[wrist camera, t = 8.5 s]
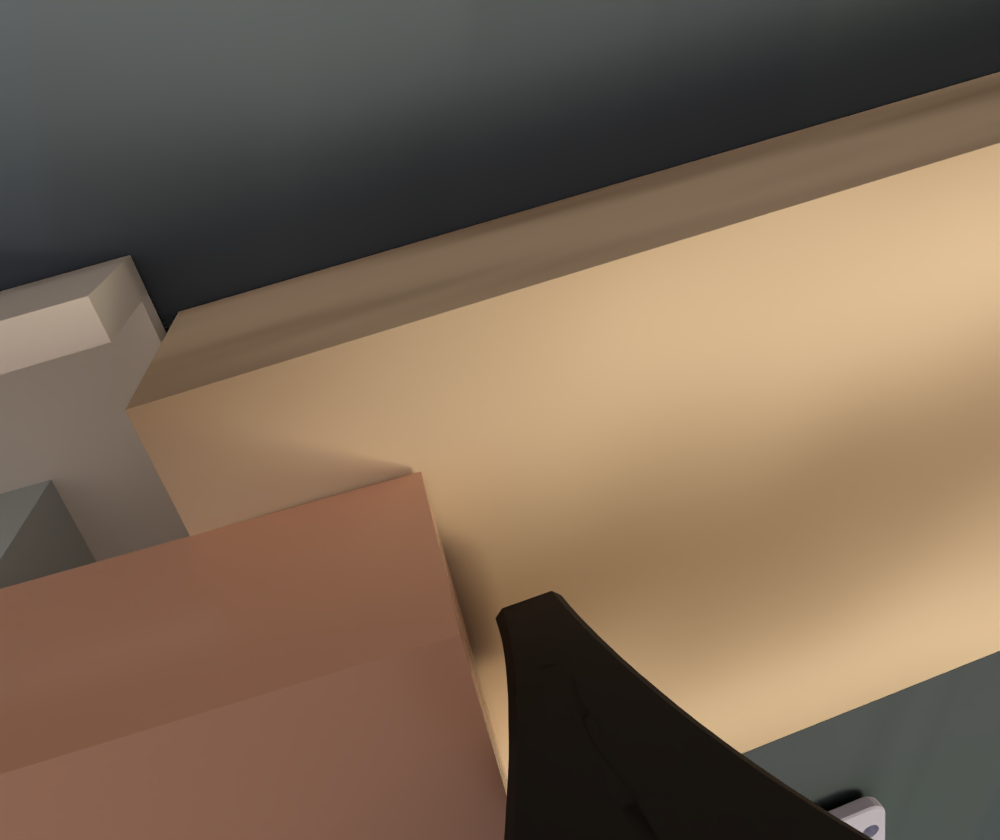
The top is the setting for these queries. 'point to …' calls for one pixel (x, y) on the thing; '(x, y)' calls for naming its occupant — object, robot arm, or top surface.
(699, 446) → the board
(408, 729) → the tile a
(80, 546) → the tile
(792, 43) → the top surface
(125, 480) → the tray
